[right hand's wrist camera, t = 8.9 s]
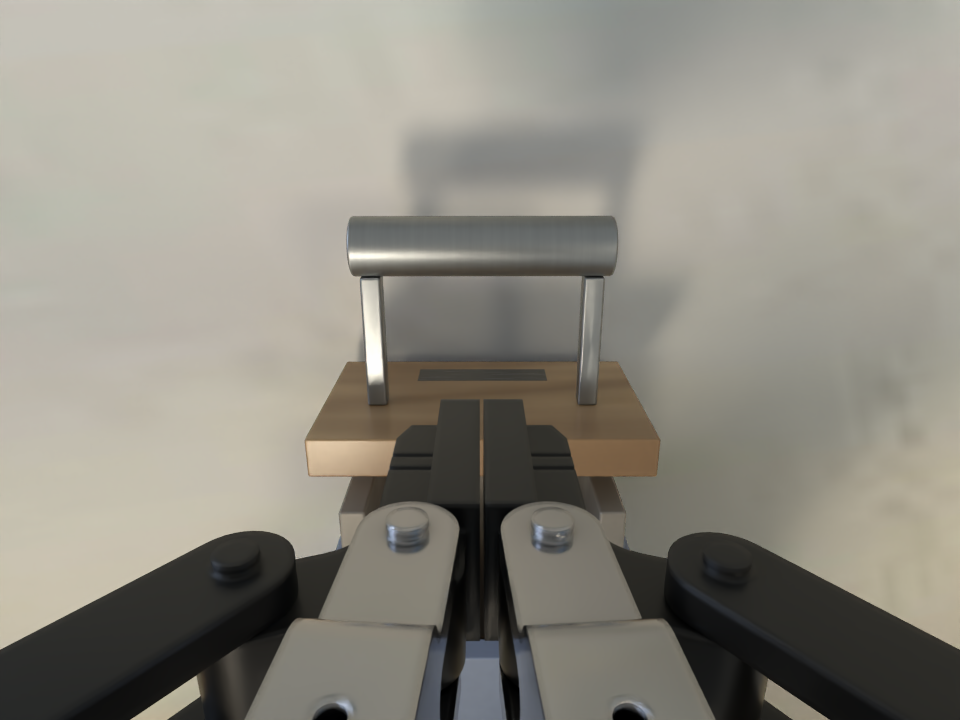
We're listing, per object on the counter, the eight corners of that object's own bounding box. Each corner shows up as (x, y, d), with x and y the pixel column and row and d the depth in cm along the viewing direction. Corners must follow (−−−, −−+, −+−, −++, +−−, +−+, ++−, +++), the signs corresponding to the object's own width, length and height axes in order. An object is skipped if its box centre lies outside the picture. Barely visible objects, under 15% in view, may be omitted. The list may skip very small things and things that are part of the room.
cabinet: (348, 509, 27) (298, 658, 20) (616, 509, 27) (667, 658, 20) (368, 748, 32) (334, 942, 25) (596, 749, 32) (631, 943, 25)
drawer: (334, 201, 22) (281, 232, 16) (630, 200, 22) (683, 230, 16) (368, 632, 28) (338, 764, 23) (597, 632, 28) (626, 765, 23)
